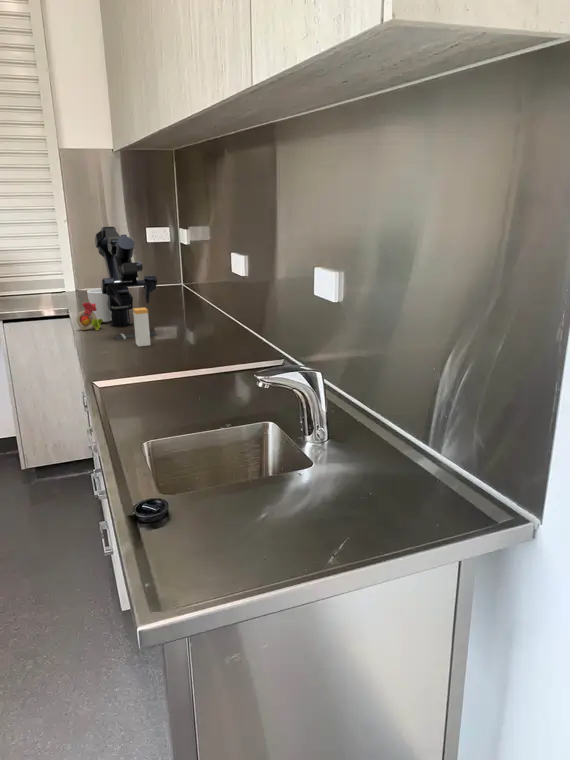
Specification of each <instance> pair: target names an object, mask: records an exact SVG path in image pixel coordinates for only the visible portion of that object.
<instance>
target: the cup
mask: <svg viewBox="0 0 570 760" xmlns="http://www.w3.org/2000/svg"><path fill="white" fill-rule="evenodd" d="M86 293H87V294H86V295H87V299H88V302H90V303H91V304H96V309H97V310H96V311H92V312H93V313H94V314H95V316H96V318H97V319H102V320H103V322H101V323H102V324H103V323H105V324H111V322H110V321H112V318H111V314H112V311H110V310H109V309H108V305H107V303H108V295H107V294H103V293H102V290H101V287H100V288H93V289H88V290H87V291H86ZM112 307H113V306H112Z"/></svg>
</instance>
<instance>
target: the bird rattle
mask: <svg viewBox="0 0 570 760" xmlns="http://www.w3.org/2000/svg"><path fill="white" fill-rule="evenodd" d="M82 306H83V308H84V309H83V310H82V311H79V313H77V316H76V323H77V325H78V326H79V327H80V328H81V330H82V329H83V330H85V331H86V330H91V329H94V328H95V329H94V330H95V331H97V330H98V331H99V329H100V328H101V327H102V324H101V322H103V320H102V319H97V318H96V316H95V314H94V313H93V312H92V311H96V310H97V309H96V304H91V303H90V302H89V301H88V302H82ZM103 323H104V322H103ZM83 330H82V331H83Z"/></svg>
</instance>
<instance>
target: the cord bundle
mask: <svg viewBox="0 0 570 760" xmlns="http://www.w3.org/2000/svg"><path fill="white" fill-rule="evenodd" d="M149 332H150V337H153V336H157V335H158V334H157V333H156V332H155V331H154V330H151V331H150V330H149ZM113 339H115V340H116V341H117V340H118V341H119V340H127V339H136V338H135V332H132V333H125V334H124V333H120V334H116V335H115V334H114V335H113Z"/></svg>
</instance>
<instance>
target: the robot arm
mask: <svg viewBox="0 0 570 760" xmlns="http://www.w3.org/2000/svg"><path fill="white" fill-rule="evenodd" d="M94 245H95V248H97V251H98V254H99V255H100V256H102V257H103V258H104V262H105V266H106V269H107V275H108V277H107V278H106V277H103V278H102V280H101V287H100V288H101V290H102V293H103V294H107V295H108V303H107V305H108V309H109V310H110V311H112V314H111V318H112V322H111V323H109V326H112V325H115V326H114V327H118V326H124V327H126V326H125V325H127V326H130V325H129V324H131V325H134V322H131V318H130V317H131V316H130V310H133V308H134V305H133V303H134V297H133V296H132V294H131V293H130V290H129V288H133V287H134V288H135V287H143V290H144V291H143V293H144V297H145V302H146V303H147V305H148V304H149V302H150V293H152V292H153V291H155V290H156V288H157V284H158V278H157V275H155V274H152V275H151V274H150V275H148V274H147V275H144V278H143V279H139V280H138V278H139V274H138V273H139V272H143V269H144V265H143V263H142V260H136V261H135V262H133V261H132V258H133V257H134V251H135V241H134V239H132V237H129V236H127V234H119V233H118V231H117V228H116V227H115V226H103V227H101V229H100V231H98V232H97V233H96V234H95V236H94ZM112 306H113V307H112Z"/></svg>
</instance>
